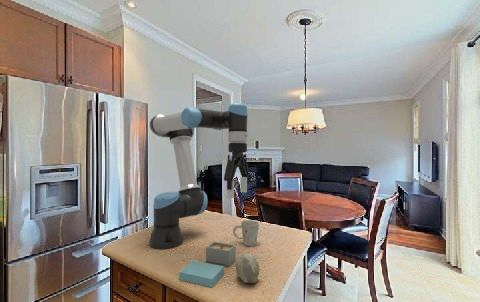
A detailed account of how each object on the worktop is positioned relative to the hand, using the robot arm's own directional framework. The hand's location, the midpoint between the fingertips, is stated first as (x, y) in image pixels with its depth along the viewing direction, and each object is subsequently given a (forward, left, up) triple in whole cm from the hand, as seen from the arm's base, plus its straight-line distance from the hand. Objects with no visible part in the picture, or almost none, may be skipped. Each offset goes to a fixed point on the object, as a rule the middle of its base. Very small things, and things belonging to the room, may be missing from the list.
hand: (237, 195), depth 99 cm
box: (-5, -4, -26) cm, 27 cm away
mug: (-2, +17, -26) cm, 32 cm away
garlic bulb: (+9, -13, -26) cm, 31 cm away
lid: (-6, -17, -26) cm, 32 cm away
